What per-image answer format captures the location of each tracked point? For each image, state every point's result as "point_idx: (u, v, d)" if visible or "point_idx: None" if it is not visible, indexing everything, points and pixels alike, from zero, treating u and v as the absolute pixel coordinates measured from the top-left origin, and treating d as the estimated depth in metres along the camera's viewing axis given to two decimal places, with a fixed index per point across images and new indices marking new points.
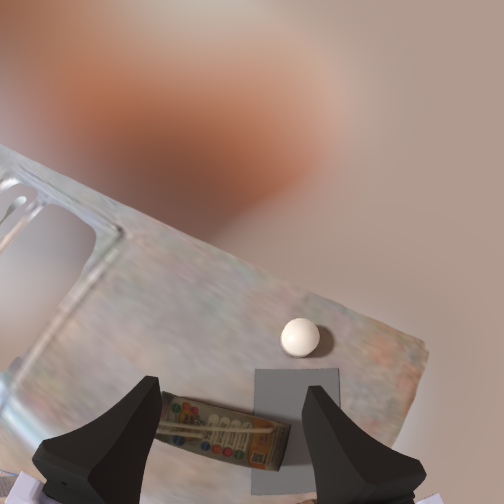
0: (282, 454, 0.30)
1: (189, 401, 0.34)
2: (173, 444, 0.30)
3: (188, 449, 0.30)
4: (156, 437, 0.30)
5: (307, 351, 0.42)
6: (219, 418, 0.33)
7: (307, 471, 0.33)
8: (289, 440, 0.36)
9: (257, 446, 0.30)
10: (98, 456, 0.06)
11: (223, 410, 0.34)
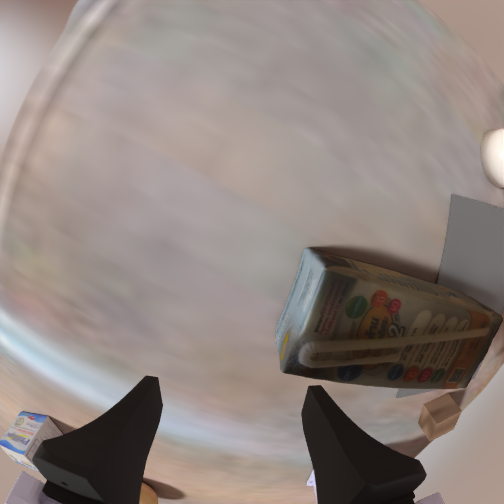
0: None
1: (386, 287, 0.15)
2: (337, 380, 0.17)
3: (364, 383, 0.17)
4: (303, 374, 0.16)
5: None
6: (431, 317, 0.16)
7: None
8: None
9: (463, 359, 0.16)
10: (98, 456, 0.06)
11: (439, 299, 0.16)
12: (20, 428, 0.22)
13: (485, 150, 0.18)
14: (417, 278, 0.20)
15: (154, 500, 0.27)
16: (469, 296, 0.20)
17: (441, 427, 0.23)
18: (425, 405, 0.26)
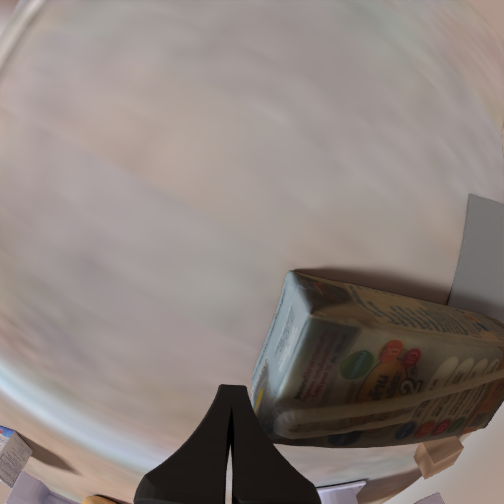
0: None
1: (403, 335, 0.10)
2: (329, 446, 0.11)
3: (364, 446, 0.11)
4: (282, 443, 0.11)
5: None
6: (457, 364, 0.10)
7: None
8: None
9: (488, 402, 0.11)
10: (218, 479, 0.06)
11: (469, 340, 0.10)
12: None
13: None
14: (437, 305, 0.14)
15: None
16: (495, 320, 0.15)
17: (439, 466, 0.17)
18: None
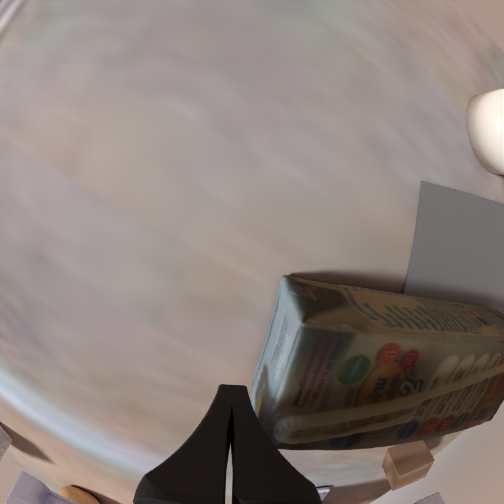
0: None
1: (399, 337, 0.10)
2: (331, 449, 0.11)
3: (367, 447, 0.11)
4: (284, 448, 0.11)
5: None
6: (458, 362, 0.10)
7: None
8: None
9: (492, 396, 0.11)
10: (218, 479, 0.06)
11: (469, 337, 0.10)
12: None
13: (473, 119, 0.12)
14: (436, 301, 0.14)
15: None
16: (496, 311, 0.15)
17: (407, 478, 0.17)
18: (389, 450, 0.20)
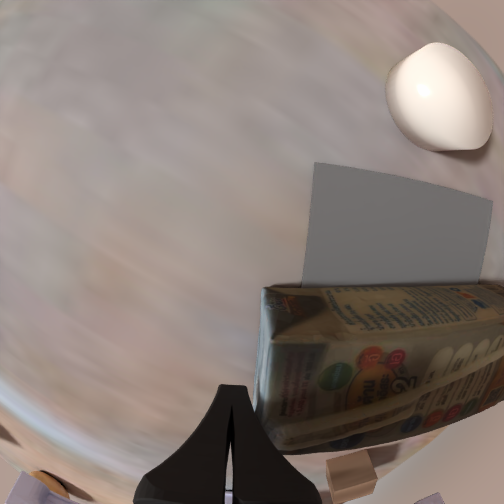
0: None
1: (379, 340, 0.10)
2: (333, 450, 0.11)
3: (371, 445, 0.11)
4: (285, 454, 0.11)
5: (472, 145, 0.10)
6: (453, 353, 0.10)
7: None
8: None
9: (500, 378, 0.10)
10: (217, 479, 0.06)
11: (462, 326, 0.10)
12: None
13: (391, 86, 0.12)
14: (428, 288, 0.14)
15: None
16: (498, 287, 0.14)
17: (347, 494, 0.17)
18: (328, 462, 0.20)
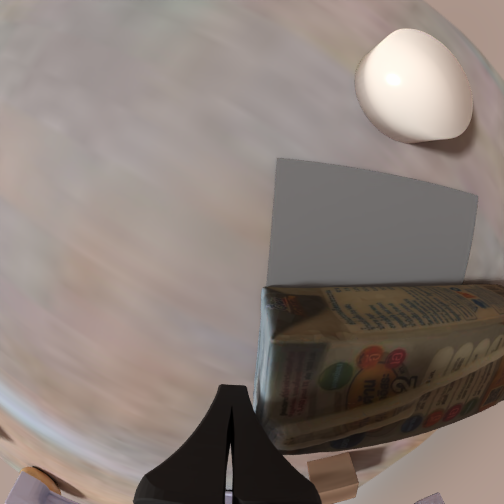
0: None
1: (379, 340, 0.10)
2: (333, 450, 0.11)
3: (371, 444, 0.11)
4: (285, 453, 0.11)
5: (448, 134, 0.10)
6: (453, 352, 0.10)
7: None
8: None
9: (501, 378, 0.10)
10: (218, 479, 0.06)
11: (462, 325, 0.10)
12: None
13: (359, 77, 0.12)
14: (429, 288, 0.14)
15: None
16: (498, 287, 0.14)
17: (328, 497, 0.17)
18: (308, 464, 0.20)
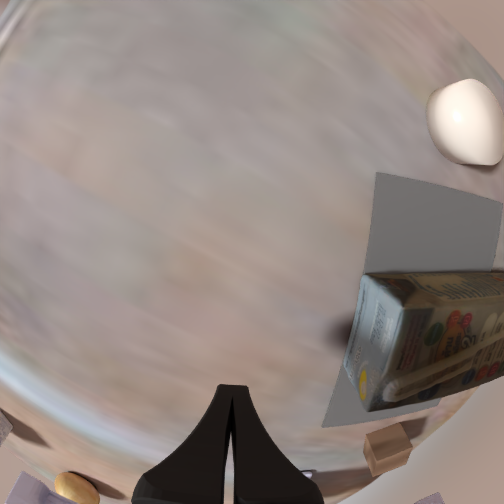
0: None
1: (459, 306, 0.12)
2: (418, 402, 0.14)
3: (442, 396, 0.14)
4: (387, 408, 0.14)
5: (492, 161, 0.13)
6: (497, 317, 0.12)
7: None
8: None
9: None
10: (216, 479, 0.06)
11: (502, 298, 0.12)
12: None
13: (431, 112, 0.14)
14: (472, 274, 0.17)
15: (93, 497, 0.24)
16: None
17: (386, 464, 0.19)
18: (367, 436, 0.22)
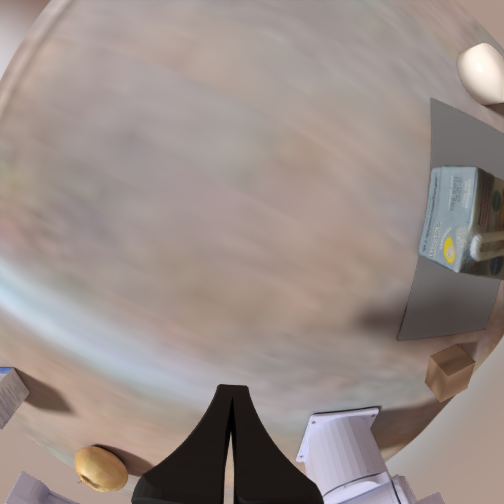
0: None
1: None
2: (489, 275, 0.15)
3: (503, 277, 0.15)
4: (471, 271, 0.15)
5: None
6: None
7: (469, 298, 0.22)
8: None
9: None
10: (215, 479, 0.06)
11: None
12: None
13: (461, 64, 0.16)
14: None
15: (122, 474, 0.25)
16: None
17: (454, 383, 0.20)
18: (432, 357, 0.24)
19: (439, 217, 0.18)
